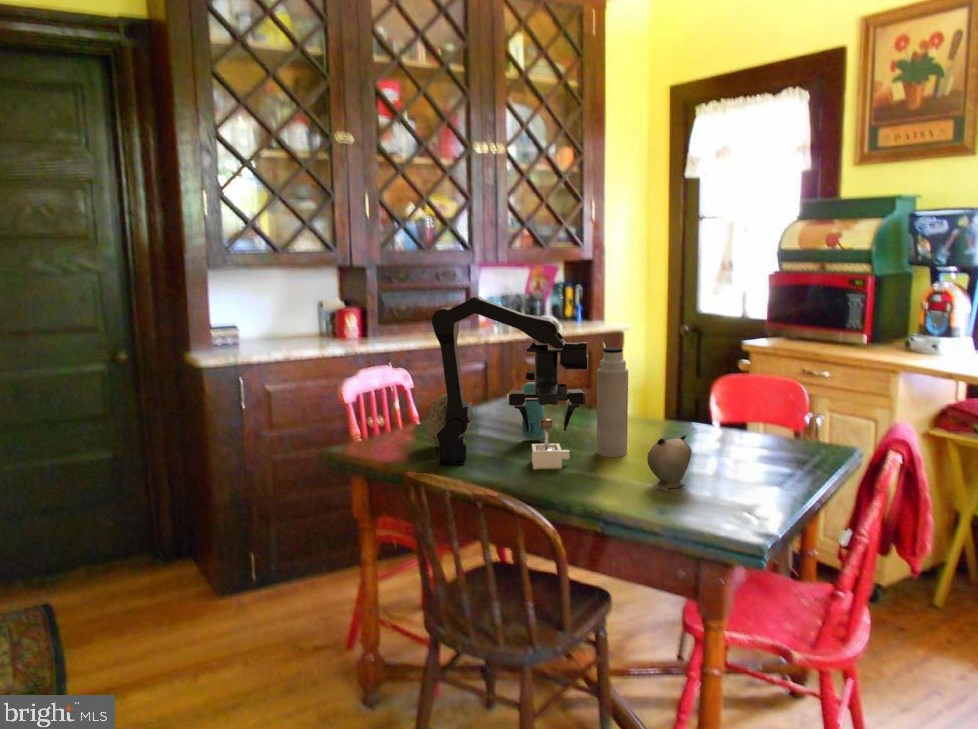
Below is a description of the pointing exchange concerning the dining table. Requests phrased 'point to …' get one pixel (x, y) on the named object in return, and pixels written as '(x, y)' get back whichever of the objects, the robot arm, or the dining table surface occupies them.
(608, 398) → the thermos bottle
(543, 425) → the brown stemmed glass
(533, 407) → the beverage bottle
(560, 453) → the square box with handle
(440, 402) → the decorative egg
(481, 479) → the dining table surface
